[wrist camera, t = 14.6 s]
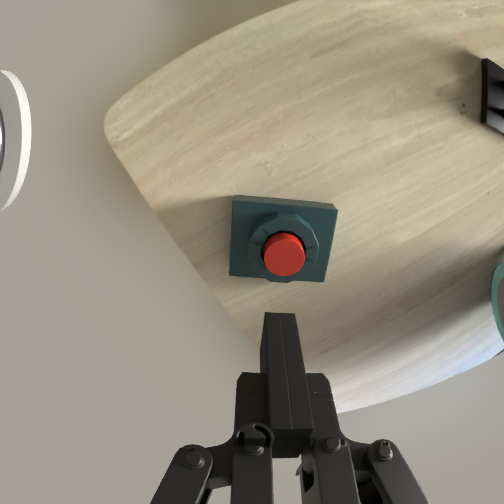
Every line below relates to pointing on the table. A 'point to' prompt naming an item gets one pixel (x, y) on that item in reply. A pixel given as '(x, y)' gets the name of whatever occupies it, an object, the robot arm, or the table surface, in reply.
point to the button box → (278, 221)
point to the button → (283, 254)
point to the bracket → (492, 96)
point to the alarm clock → (498, 298)
